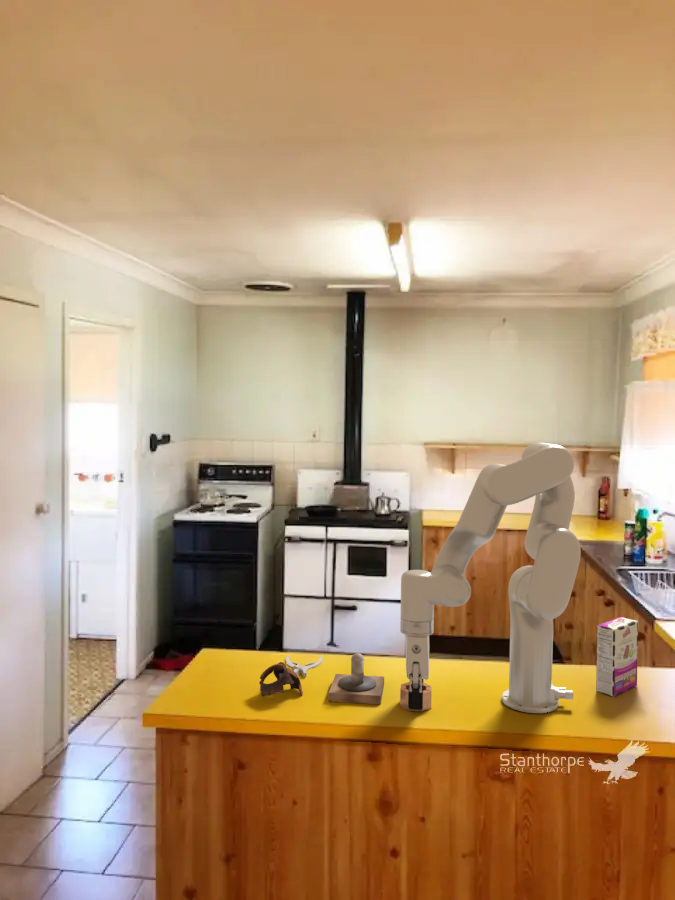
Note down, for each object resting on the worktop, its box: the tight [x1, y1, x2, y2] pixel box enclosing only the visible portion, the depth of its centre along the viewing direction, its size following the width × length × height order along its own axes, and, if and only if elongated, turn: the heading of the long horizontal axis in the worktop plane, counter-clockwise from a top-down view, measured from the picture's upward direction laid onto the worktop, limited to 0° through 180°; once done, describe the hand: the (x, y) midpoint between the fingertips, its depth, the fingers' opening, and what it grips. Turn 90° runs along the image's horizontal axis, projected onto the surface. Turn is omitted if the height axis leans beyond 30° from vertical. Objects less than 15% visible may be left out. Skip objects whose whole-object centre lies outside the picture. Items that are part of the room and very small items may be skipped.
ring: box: [399, 681, 433, 712], centre depth 165 cm, size 7×7×4 cm
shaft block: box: [328, 652, 385, 705], centre depth 171 cm, size 12×12×10 cm
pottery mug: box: [259, 661, 304, 697], centre depth 171 cm, size 12×10×8 cm
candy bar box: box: [595, 616, 639, 698], centre depth 175 cm, size 11×5×16 cm, turn 129°
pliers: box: [285, 655, 324, 678], centre depth 188 cm, size 10×2×15 cm
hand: (415, 701), depth 165 cm, fingers closed on ring, 7 cm apart
